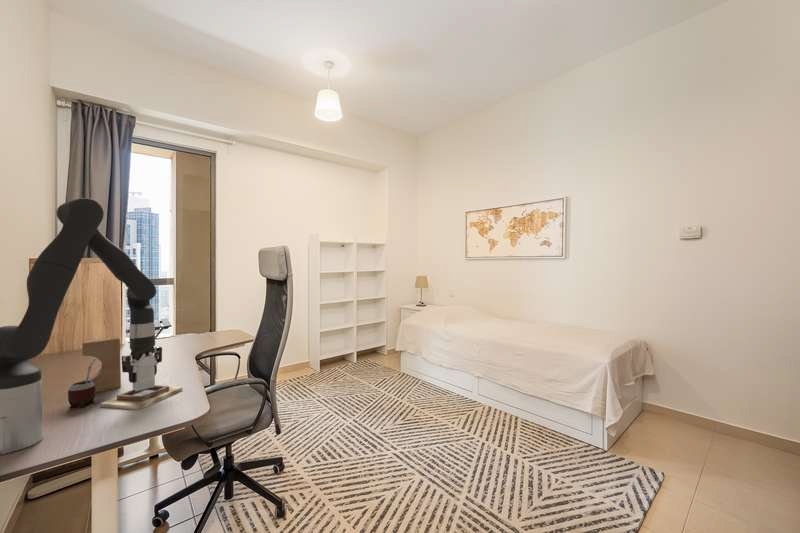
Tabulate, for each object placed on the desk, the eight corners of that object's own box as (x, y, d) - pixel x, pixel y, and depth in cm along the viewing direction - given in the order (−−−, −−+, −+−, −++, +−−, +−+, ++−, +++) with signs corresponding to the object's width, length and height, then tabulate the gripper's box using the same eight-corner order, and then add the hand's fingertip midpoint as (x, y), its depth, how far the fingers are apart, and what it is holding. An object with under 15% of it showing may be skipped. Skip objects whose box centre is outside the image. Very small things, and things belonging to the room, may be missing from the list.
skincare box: (151, 384, 127) (151, 353, 127) (155, 386, 124) (154, 355, 124) (131, 389, 122) (131, 356, 122) (134, 391, 119) (134, 358, 119)
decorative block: (83, 395, 126) (82, 343, 126) (83, 391, 130) (82, 341, 130) (121, 387, 134) (119, 338, 134) (119, 383, 138) (118, 336, 138)
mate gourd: (68, 411, 112) (67, 368, 112) (68, 405, 118) (67, 363, 118) (98, 404, 118) (97, 363, 117) (96, 398, 123) (95, 358, 123)
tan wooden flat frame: (137, 410, 113) (137, 402, 113) (100, 406, 116) (100, 398, 116) (182, 390, 131) (182, 383, 131) (149, 387, 134) (148, 380, 134)
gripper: (152, 330, 131) (152, 372, 131) (114, 338, 117) (115, 385, 117) (168, 331, 129) (168, 373, 129) (131, 339, 115) (132, 386, 115)
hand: (143, 378), depth 123 cm, fingers closed on skincare box, 7 cm apart
